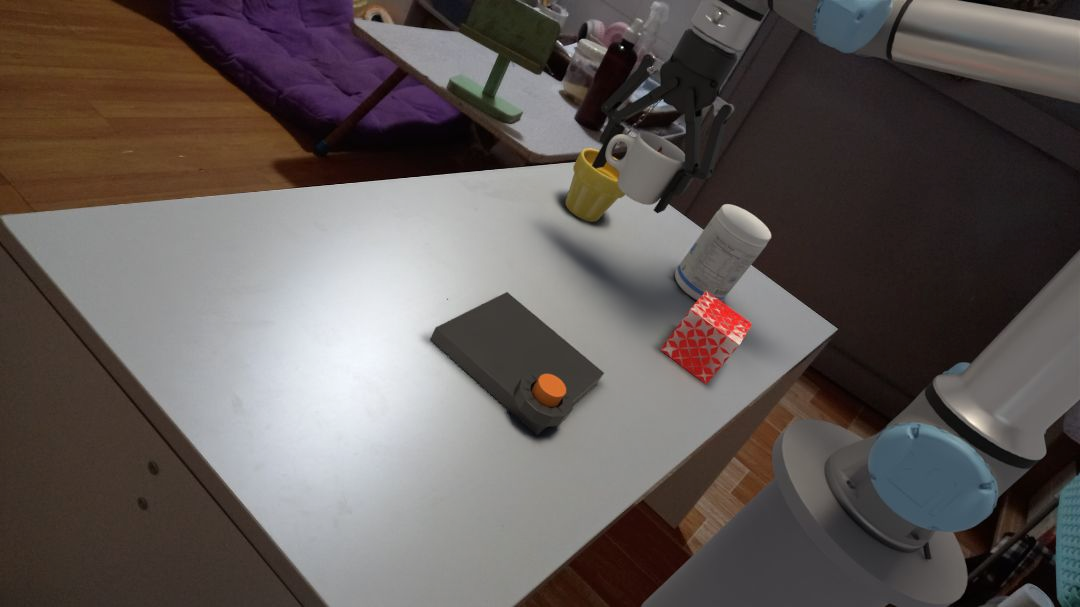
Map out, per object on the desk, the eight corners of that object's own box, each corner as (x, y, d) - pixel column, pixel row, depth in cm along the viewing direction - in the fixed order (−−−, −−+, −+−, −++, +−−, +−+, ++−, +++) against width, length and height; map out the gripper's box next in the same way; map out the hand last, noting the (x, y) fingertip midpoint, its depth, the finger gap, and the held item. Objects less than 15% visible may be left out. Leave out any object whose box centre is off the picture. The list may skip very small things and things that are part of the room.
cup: (588, 180, 89) (615, 129, 85) (597, 163, 96) (623, 115, 92) (656, 218, 89) (687, 169, 85) (661, 199, 96) (690, 152, 92)
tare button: (564, 399, 69) (571, 388, 68) (549, 412, 66) (556, 401, 65) (541, 380, 70) (548, 369, 69) (526, 392, 67) (533, 380, 66)
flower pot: (614, 235, 113) (642, 188, 108) (563, 219, 109) (590, 170, 104) (599, 203, 121) (624, 158, 116) (550, 187, 116) (574, 140, 111)
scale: (603, 389, 78) (617, 369, 76) (539, 447, 66) (554, 425, 64) (501, 302, 83) (512, 282, 81) (423, 342, 71) (434, 319, 69)
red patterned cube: (677, 329, 97) (706, 290, 93) (720, 361, 96) (752, 323, 91) (659, 349, 91) (690, 309, 87) (706, 384, 89) (739, 345, 85)
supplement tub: (678, 263, 116) (725, 196, 108) (723, 293, 115) (774, 227, 107) (667, 284, 108) (717, 212, 100) (715, 315, 107) (770, 246, 99)
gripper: (629, -7, 81) (554, 146, 92) (785, 89, 75) (683, 240, 86) (652, -2, 87) (579, 142, 98) (798, 87, 81) (701, 229, 92)
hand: (627, 187), depth 92 cm, fingers closed on cup, 10 cm apart
